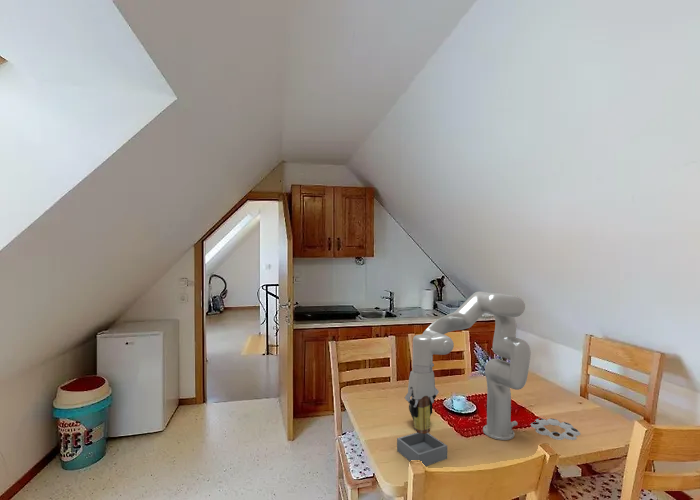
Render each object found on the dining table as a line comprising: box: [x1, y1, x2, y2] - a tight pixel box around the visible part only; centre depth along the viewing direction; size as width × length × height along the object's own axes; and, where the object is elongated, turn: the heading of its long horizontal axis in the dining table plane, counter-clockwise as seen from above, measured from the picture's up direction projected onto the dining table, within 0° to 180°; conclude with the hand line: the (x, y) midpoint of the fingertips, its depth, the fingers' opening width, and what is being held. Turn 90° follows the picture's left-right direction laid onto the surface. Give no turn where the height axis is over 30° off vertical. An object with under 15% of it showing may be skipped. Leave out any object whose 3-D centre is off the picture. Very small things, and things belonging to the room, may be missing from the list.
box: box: [396, 432, 448, 467], centre depth 152 cm, size 14×14×5 cm
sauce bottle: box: [413, 396, 431, 434], centre depth 151 cm, size 7×6×20 cm
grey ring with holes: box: [529, 417, 581, 441], centre depth 173 cm, size 20×20×2 cm
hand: (421, 413), depth 151 cm, fingers closed on sauce bottle, 6 cm apart
